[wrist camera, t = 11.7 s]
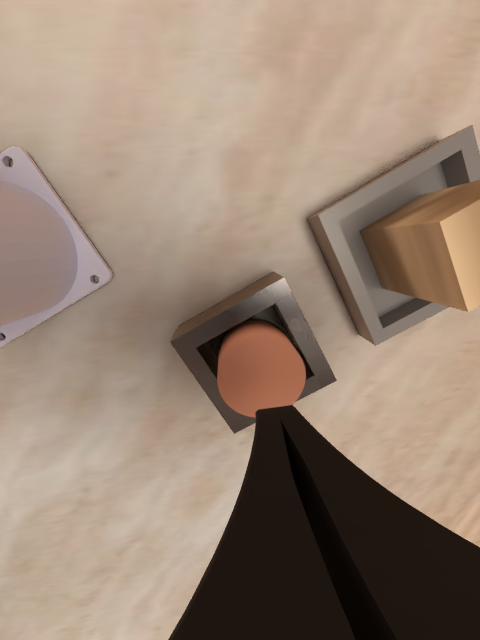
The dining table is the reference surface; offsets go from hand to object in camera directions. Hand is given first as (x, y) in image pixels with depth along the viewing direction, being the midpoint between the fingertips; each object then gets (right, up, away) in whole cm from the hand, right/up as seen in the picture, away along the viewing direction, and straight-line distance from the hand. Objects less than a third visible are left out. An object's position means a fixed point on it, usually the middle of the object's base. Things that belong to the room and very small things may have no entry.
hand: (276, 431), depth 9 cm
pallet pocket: (+9, +9, +7) cm, 14 cm away
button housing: (-1, +2, +8) cm, 9 cm away
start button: (0, +2, +6) cm, 7 cm away
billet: (+8, +9, +6) cm, 14 cm away
